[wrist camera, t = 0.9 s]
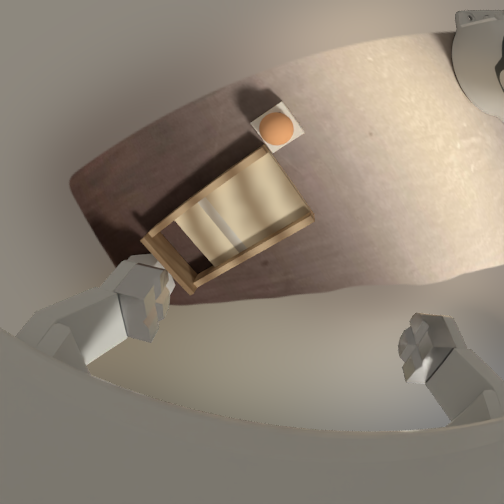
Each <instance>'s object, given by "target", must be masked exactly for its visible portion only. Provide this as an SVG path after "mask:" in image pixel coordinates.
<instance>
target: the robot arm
mask: <svg viewBox="0 0 504 504" xmlns="http://www.w3.org/2000/svg"><path fill="white" fill-rule="evenodd" d="M468 17H469V18H470V20H469V18H468ZM455 20H456V28H457V30H456V35H455V37H454V40H453V45H452V61H453V66H454V70H455V74H456V77H457V79H458V82H459V84H460V86H461V88H462V89H463V91H464V93H465V94H466V96H467V97H468V98H469V100H470V101H471V102H472V103H473V104H474V105H475V106H476V107H477V108H479V109H480V110H481V111H483V112H485V113H487V114H489V115H492V116H495V117H498V118H499V119H500V120H501V121H502V122H503V123H504V10H502V11H501V10H471V11H458V12H457V13H456V14H455ZM168 281H169V276H168V271H167V270H166V269H162V268H158V267H154V266H150V265H146V264H142V263H137V262H133V261H128V260H124V261H122V262H121V263H120V264H119V265H118V266H117V268H116V269H115V270H114V271H113V272H112V274H110V276H109V277H108V278H107V279H106V280H105V281H104V283H103V284H102V285H101V286H100V287H99V288H97V287H94V288H92V289H89V290H87V291H84V292H82V293H79V294H77V295H74V296H72V297H70V298H67V299H65V300H62V301H60V302H58V303H55V304H53V305H51V306H48V307H46V308H44V309H41V310H39V311H36V312H35V314H34V315H33V316H32V317H31V318H30V319H29V320H28V322H27V323H26V324H25V325H24V326H23V328H22V329H21V330H20V332H19V333H18V334H17V335H16V336H13V335H11V334H10V333H7V332H6V331H5V330H3V329H1V328H0V504H504V381H503V380H502V379H501V378H500V377H499V376H498V375H497V374H496V373H495V372H494V371H493V370H492V369H491V368H490V367H489V366H488V365H487V364H486V363H485V362H484V361H483V360H482V359H481V358H480V357H479V356H477V355H476V354H475V353H474V352H473V351H472V350H471V349H467V346H466V344H465V342H464V339H463V337H462V335H461V333H460V331H459V328H458V326H457V324H456V322H455V320H454V318H452V317H451V316H444V315H432V314H423V313H415V314H414V315H413V316H412V318H411V320H410V327H409V328H408V329H406V330H404V332H403V333H402V335H401V337H400V340H399V345H398V351H399V356H400V358H401V359H402V360H403V361H404V362H405V363H404V365H403V367H402V368H403V373H404V377H405V381H406V382H407V383H426V386H427V388H428V389H429V390H430V392H431V393H432V395H433V396H434V397H435V399H436V400H437V402H438V403H439V405H440V406H441V407H442V409H443V410H444V412H445V413H446V414H447V416H448V417H449V419H450V420H451V422H450V423H449V424H448V425H447V426H446V427H440V428H431V429H420V430H405V431H372V432H371V431H366V432H365V431H333V430H317V429H305V428H296V427H287V426H279V425H271V424H265V423H258V422H252V421H246V420H241V419H235V418H230V417H225V416H221V415H216V414H211V413H207V412H203V411H199V410H195V409H191V408H187V407H183V406H180V405H176V404H172V403H169V402H166V401H162V400H159V399H156V398H152V397H149V396H146V395H143V394H140V393H137V392H134V391H131V390H129V389H126V388H123V387H120V386H118V385H115V384H112V383H110V382H107V381H105V380H102V379H100V378H97V377H95V376H92V375H91V374H90V372H89V370H88V368H87V366H86V365H87V364H88V363H90V362H92V361H93V360H95V359H96V358H98V357H99V356H101V355H102V354H104V353H105V352H107V351H108V350H110V349H111V348H113V347H114V346H116V345H117V344H119V343H120V342H122V341H123V340H125V339H126V338H127V336H128V337H131V338H135V339H139V340H142V341H146V342H150V343H151V342H152V340H153V338H154V336H155V334H156V333H157V331H158V329H159V325H158V321H160V320H162V319H164V317H165V315H166V313H167V311H168V307H169V302H170V291H169V290H168V288H167V287H166V284H167V283H168Z"/></svg>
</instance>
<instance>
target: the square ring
mask: <svg viewBox="0 0 504 504" xmlns="http://www.w3.org/2000/svg"><path fill="white" fill-rule="evenodd" d="M274 112H278V113H279V112H281V113H282V114H285V115H286V116H288V117H289V118H290V119H291V121H292V123H293V127H294V132H293V135H292V137H291V139H290V140H289V141H288V142H287V143H285V144H282V145H271V144H269V143H267V142H266V141H264V142H265V143H266V144H267V146H268V147H269V148H270V150H271V151H272V153H274V152H275V151H277V150H278V149H280V148H282V147H283V146H285V145H286V144H288V143H289V142H291V141H292V140H294V139H296V138H297V137H299V136H300V135H302V134H303V133H304V129H303V128H302V127H301V125H300V124H299V122H298V121H297V120H296V118H295V117H294V115H293V114H292V113H291V111H290V110H289V109H288V107H287V106H286V105H285V103H284V102H283V101H282V102H280V103H279V104H277V105H276V106H274V107H273V108H271V109H270V110H268V111H267V112H265V113H264V114H262V115H261V116H260V117H258V118H257V119H255V120H254V121H252V122H251V125H252V126H253V127H254V129H255V130H256V131H257V132H258V134H259V135H260V132H259V126H260V122H261V120H262V119H263V118H264V117H265V116H266V115H268V114H270V113H274ZM260 136H261V135H260ZM261 138H262V137H261ZM262 139H263V138H262Z"/></svg>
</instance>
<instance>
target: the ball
mask: <svg viewBox="0 0 504 504" xmlns="http://www.w3.org/2000/svg"><path fill="white" fill-rule="evenodd" d="M259 132H260V135H261V137H262V138H263V140H264V141H266V142H267V143H269V144H271V145H282V144H285V143H287V142H288V141H289V140H290V139H291V137H292V135H293V132H294V127H293V123H292V121H291V119H290V118H289V117H288V116H286V115H285V114H282V113H278V112H274V113H270V114H268V115H266V116H265V117H264V118H263V119H262V120H261V122H260V126H259Z"/></svg>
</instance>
